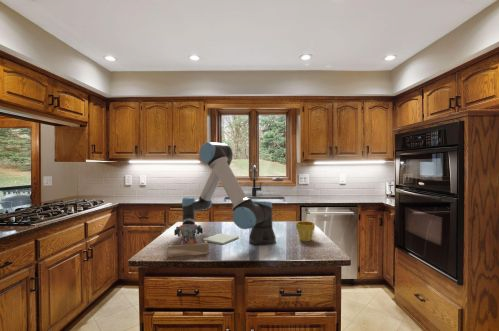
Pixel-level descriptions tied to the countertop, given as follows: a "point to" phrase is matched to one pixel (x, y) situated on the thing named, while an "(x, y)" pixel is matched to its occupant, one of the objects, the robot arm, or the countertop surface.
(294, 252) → the countertop surface
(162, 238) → the countertop surface
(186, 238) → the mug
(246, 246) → the countertop surface
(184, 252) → the mug holder
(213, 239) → the board
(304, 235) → the plant pot
